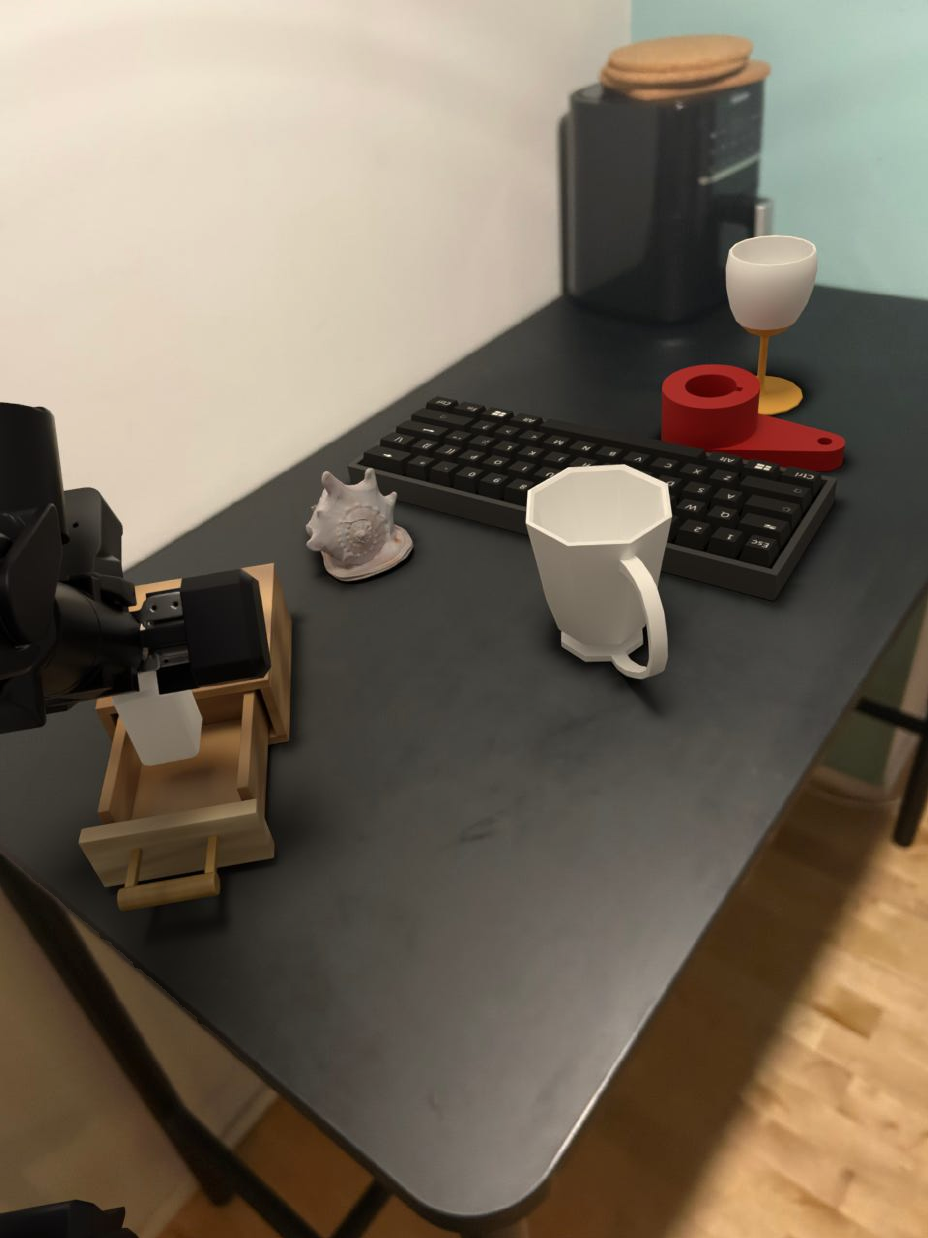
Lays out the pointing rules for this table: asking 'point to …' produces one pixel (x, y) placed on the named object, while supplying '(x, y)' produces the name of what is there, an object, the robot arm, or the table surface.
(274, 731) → the cabinet
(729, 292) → the cup
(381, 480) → the computer keyboard
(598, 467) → the cup
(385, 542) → the seashell
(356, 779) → the table surface
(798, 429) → the lever
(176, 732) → the pepper shaker
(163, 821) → the drawer
